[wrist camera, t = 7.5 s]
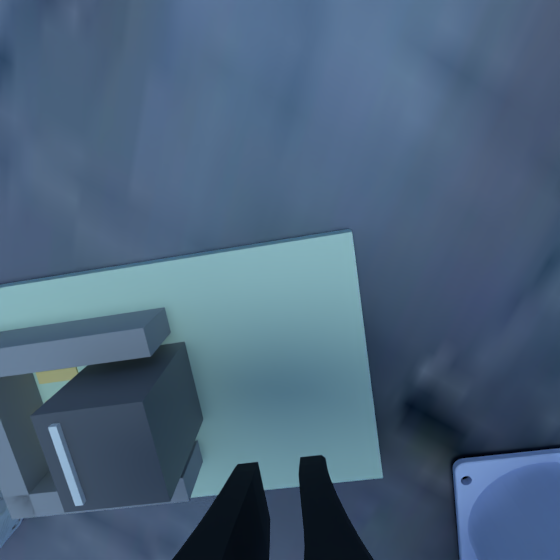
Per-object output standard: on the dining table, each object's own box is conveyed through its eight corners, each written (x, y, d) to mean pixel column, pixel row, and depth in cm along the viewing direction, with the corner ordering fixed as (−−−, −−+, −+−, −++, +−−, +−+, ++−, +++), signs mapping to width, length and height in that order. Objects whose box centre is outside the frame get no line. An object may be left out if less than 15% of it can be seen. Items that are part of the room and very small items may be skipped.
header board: (378, 463, 20) (394, 520, 17) (63, 497, 22) (20, 555, 19) (349, 228, 18) (360, 241, 14) (-11, 286, 19) (-79, 310, 16)
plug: (203, 419, 19) (168, 506, 14) (123, 429, 20) (61, 517, 15) (184, 341, 18) (139, 405, 13) (100, 353, 19) (26, 419, 14)
